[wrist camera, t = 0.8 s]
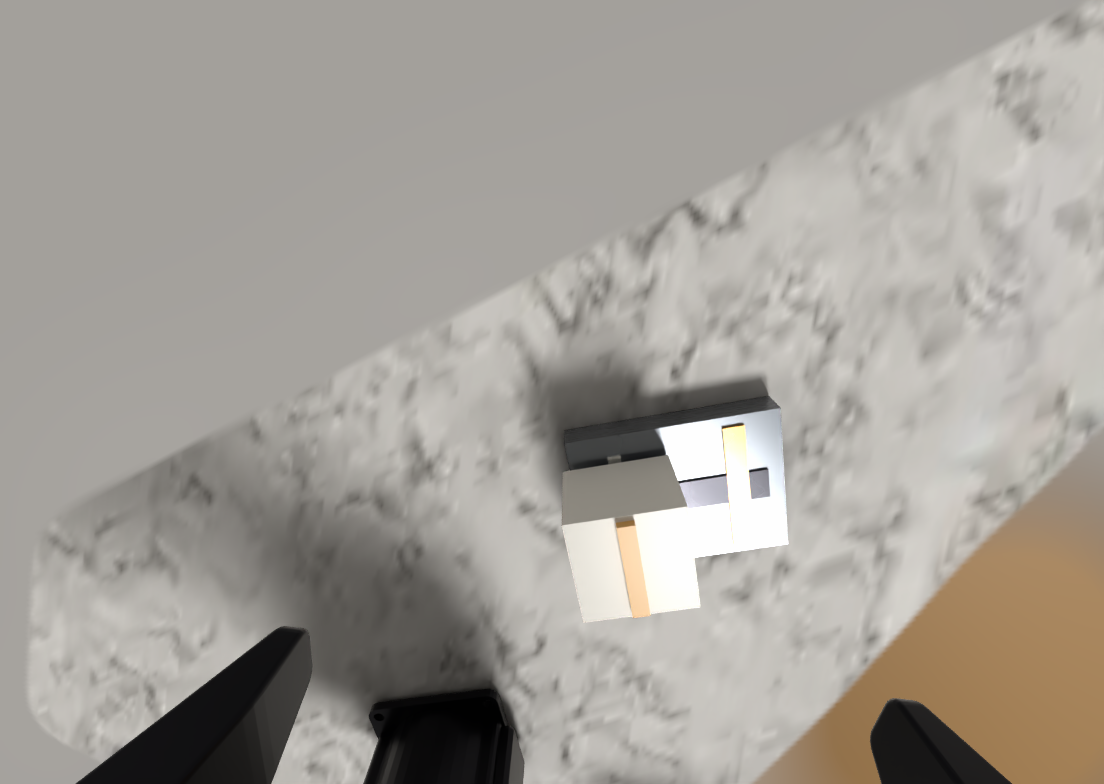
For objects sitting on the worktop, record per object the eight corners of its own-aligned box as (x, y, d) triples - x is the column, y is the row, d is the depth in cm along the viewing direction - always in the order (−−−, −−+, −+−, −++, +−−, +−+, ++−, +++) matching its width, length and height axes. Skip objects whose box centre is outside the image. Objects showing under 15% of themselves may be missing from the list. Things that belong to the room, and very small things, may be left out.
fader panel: (589, 553, 24) (591, 574, 23) (564, 430, 22) (564, 445, 20) (777, 526, 23) (789, 545, 22) (769, 396, 21) (781, 409, 20)
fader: (581, 558, 22) (583, 629, 18) (562, 471, 21) (561, 531, 17) (680, 543, 22) (702, 613, 18) (668, 454, 20) (689, 511, 17)
